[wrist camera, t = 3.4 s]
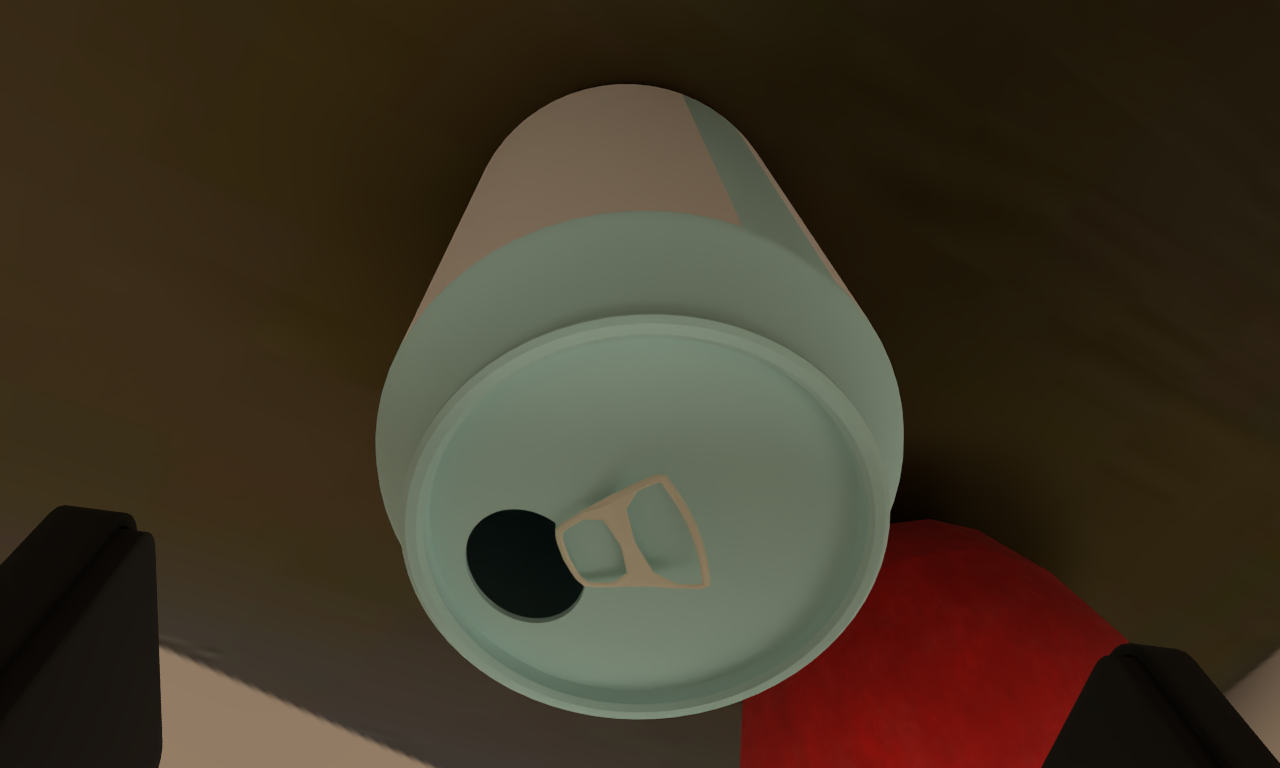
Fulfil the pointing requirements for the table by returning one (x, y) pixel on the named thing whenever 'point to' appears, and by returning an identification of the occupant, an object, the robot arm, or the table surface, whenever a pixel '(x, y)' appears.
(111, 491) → the table surface
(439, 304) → the can
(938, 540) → the apple
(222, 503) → the table surface
